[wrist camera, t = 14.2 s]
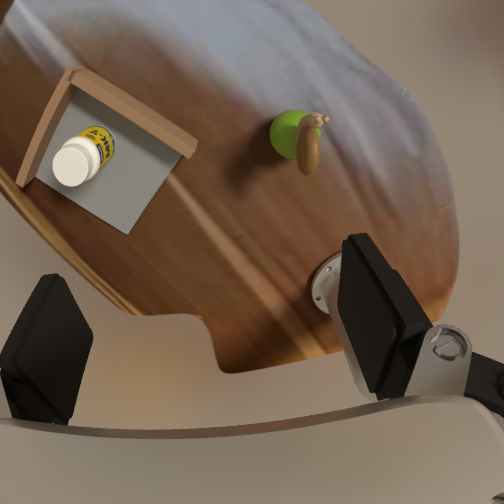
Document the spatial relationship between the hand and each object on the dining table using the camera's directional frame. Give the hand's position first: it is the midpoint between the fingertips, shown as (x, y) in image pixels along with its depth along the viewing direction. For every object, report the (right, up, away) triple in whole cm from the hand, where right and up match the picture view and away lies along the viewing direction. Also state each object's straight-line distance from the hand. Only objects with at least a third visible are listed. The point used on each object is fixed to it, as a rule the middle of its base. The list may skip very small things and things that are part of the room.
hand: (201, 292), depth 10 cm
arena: (-16, +12, +24) cm, 32 cm away
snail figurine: (+6, +16, +25) cm, 30 cm away
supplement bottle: (-16, +14, +23) cm, 31 cm away
